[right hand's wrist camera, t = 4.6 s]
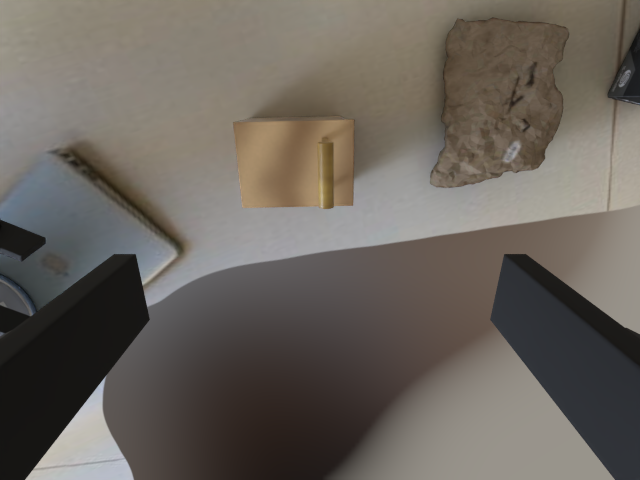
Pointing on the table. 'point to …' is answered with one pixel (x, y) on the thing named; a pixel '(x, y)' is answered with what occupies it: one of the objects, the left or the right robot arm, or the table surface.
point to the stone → (498, 99)
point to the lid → (295, 163)
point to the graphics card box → (628, 76)
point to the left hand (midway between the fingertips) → (38, 296)
